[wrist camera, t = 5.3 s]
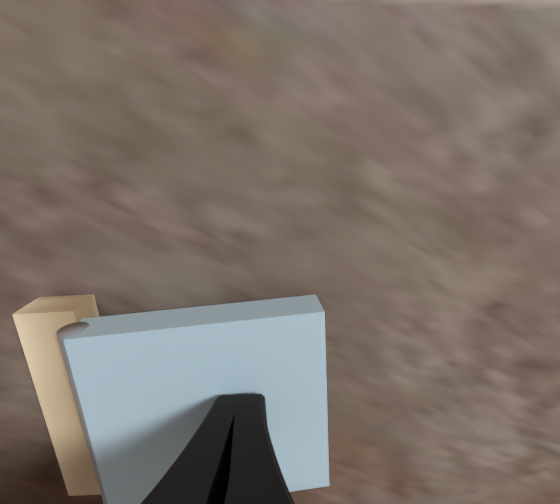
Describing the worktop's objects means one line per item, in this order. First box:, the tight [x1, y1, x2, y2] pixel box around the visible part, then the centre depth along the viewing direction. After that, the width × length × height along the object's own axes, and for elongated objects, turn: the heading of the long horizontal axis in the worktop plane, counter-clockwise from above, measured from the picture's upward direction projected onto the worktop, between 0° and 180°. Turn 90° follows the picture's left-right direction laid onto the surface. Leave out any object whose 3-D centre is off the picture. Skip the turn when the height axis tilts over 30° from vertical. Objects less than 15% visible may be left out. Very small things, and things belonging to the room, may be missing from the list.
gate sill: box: [12, 294, 101, 496], centre depth 12 cm, size 2×7×1 cm, turn 3°
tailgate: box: [57, 295, 329, 504], centre depth 11 cm, size 1×6×7 cm
